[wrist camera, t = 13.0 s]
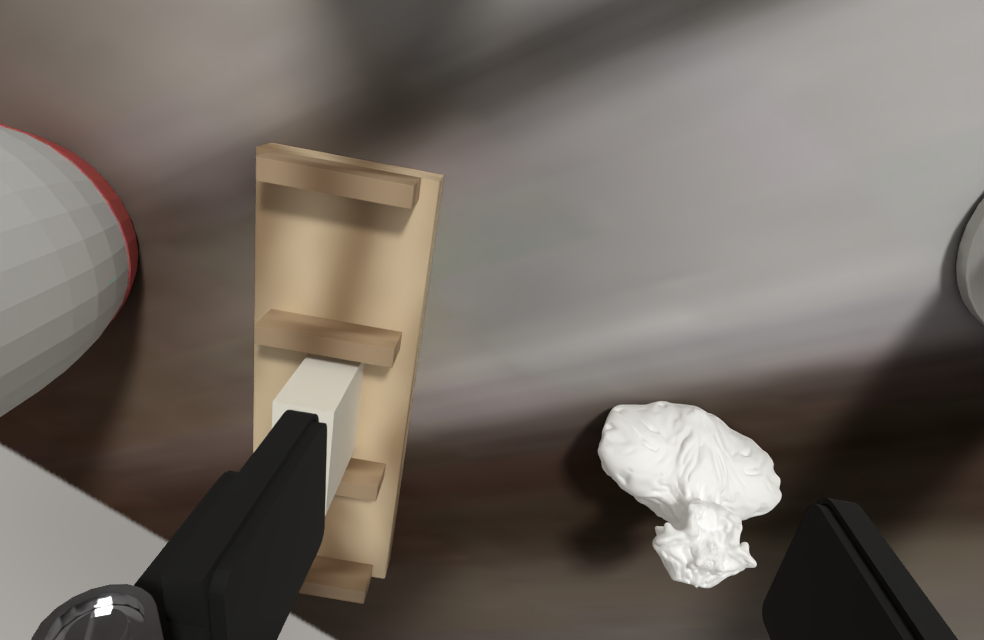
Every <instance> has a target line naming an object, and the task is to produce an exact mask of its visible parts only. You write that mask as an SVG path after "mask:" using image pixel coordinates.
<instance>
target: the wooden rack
mask: <svg viewBox="0 0 984 640" xmlns="http://www.w3.org/2000/svg"><path fill="white" fill-rule="evenodd" d="M443 179H444V175H441V174H436V173H431V172H425V171H420V170H415V169H409V168H404V167H399V166H393V165H388V164H383V163H377V162H372V161H367V160H361V159H356V158H350V157H345V156H340V155H334V154H329V153H324V152H318V151H313V150H308V149H302V148H297V147H292V146H286V145H281V144H276V143H268V144H265V145H261V146H258V147H256V241H255V326H254V441H253V453H254V452H255V450H256V449H257V448H258V446H259V445H260V444H261V442H262V441H263V440H264V438H265V437H266V436H267V435H268V433H269V432H270V431H271V429H272V405H273V400H274V399H275V398H276V396H277V395H278V394H279V392H280V391H281V390H282V388H283V387H284V386H285V384H286V383H287V382H288V380H289V379H290V378H291V376H292V375H293V374H294V372H295V371H296V370H297V368H298V367H299V366H300V364H301V363H302V362H303V360H304V359H305V358H306V356H307V355H308V354H309V353H310V354H316V355H322V356H327V357H333V358H339V359H344V360H350V361H356V362H361V363H364V371H363V381H362V390H361V400H360V409H359V419H358V429H357V438H356V447H355V449H354V452H353V454H352V456H351V459H350V461H349V463H348V465H347V468H346V470H345V472H344V475H343V477H342V479H341V481H340V484H339V486H338V488H337V491H336V493H335V495H334V497H333V500H332V502H331V504H330V507H329V509H328V511H327V514H326V516H325V529H324V536H323V540H322V543H321V546H320V548H319V551H318V553H317V555H316V557H315V559H314V561H313V563H312V566H311V568H310V570H309V572H308V574H307V576H306V578H305V580H304V583H303V585H302V587H301V589H300V591H299V593H301V594H307V595H314V596H320V597H326V598H332V599H338V600H344V601H350V602H356V603H362V604H364V601H365V597H366V594H367V591H368V587H369V584H370V580H371V577H377V578H383V579H385V576H386V572H387V569H388V565H389V561H390V556H391V549H392V542H393V535H394V528H395V521H396V514H397V507H398V500H399V492H400V485H401V478H402V471H403V464H404V457H405V450H406V443H407V435H408V428H409V421H410V414H411V407H412V400H413V393H414V386H415V379H416V371H417V364H418V357H419V350H420V343H421V336H422V329H423V322H424V314H425V307H426V300H427V293H428V286H429V279H430V272H431V265H432V258H433V250H434V243H435V236H436V229H437V222H438V215H439V208H440V201H441V193H442V186H443Z"/></svg>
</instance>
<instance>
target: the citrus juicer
mask: <svg viewBox="0 0 984 640" xmlns="http://www.w3.org/2000/svg"><path fill="white" fill-rule="evenodd" d="M137 264H138V247H137V240H136V234H135V231H134V228H133V225H132V222H131V219H130V217H129V215H128V213H127V211H126V209H125V207H124V205H123V203H122V202H121V200H120V198H119V197H118V195H117V194H116V193H115V191H114V190H113V189H112V187H111V186H110V185H109V183H108V182H107V181H106V180H105V179H104V178H103V177H102V176H101V175H100V174H99V173H98V172H97V171H96V170H95V169H94V168H93V167H92V166H91V165H90V164H88V163H87V162H85V161H84V160H83V159H81V158H80V157H79V156H77V155H76V154H74V153H73V152H71V151H69V150H67V149H65V148H63V147H61V146H60V145H58V144H56V143H54V142H51V141H49V140H47V139H44V138H42V137H39V136H36V135H33V134H30V133H27V132H24V131H21V130H18V129H15V128H12V127H9V126H6V125H2V124H0V417H1V416H3V415H4V414H6V413H7V412H9V411H10V410H12V409H13V408H15V407H16V406H18V405H19V404H21V403H22V402H24V401H25V400H27V399H28V398H30V397H31V396H33V395H34V394H36V393H37V392H39V391H40V390H41V389H43V388H44V387H45V386H46V385H48V384H49V383H50V382H52V381H53V380H54V379H56V378H57V377H58V376H60V375H61V374H62V373H63V372H65V371H66V370H67V369H68V368H69V367H70V366H71V365H72V364H73V363H74V362H76V361H77V360H78V359H79V358H80V357H81V356H82V355H83V354H84V353H85V352H86V351H87V350H88V349H89V348H90V347H91V346H92V344H93V343H94V342H95V341H96V340H97V339H98V338H99V337H100V336H101V334H102V333H103V331H104V330H105V328H106V327H107V326H108V325H109V324H110V323H111V322H112V321H113V320H114V319H115V318H116V316H117V314H118V313H119V311H120V310H121V308H122V306H123V305H124V303H125V301H126V299H127V297H128V295H129V292H130V290H131V287H132V285H133V281H134V278H135V275H136V272H137Z"/></svg>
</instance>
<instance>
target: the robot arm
mask: <svg viewBox="0 0 984 640" xmlns="http://www.w3.org/2000/svg"><path fill="white" fill-rule="evenodd" d="M956 271H957V284H958V288H959V291H960V294H961V297H962V300H963V302H964V303H965V305H966V306H967V308H968V310H969V311H970V313H971V314H972V315H973V316H974V317H975V318H976V319H977V320H978V321H980V322H981V323H982V324H983V325H984V198H983V200H982V201H981V202H980V203H979V205H978V206H977V208H976V210H975V212H974V213H973V215H972V217H971V219H970V220H969V222H968V224H967V226H966V229H965V231H964V234H963V237H962V240H961V242H960V245H959V251H958V257H957V263H956ZM326 459H327V424H326V423H322V422H319V418H318V415H317V414H314V413H308V412H301V411H295V410H286V411H285V412H284V413H283V415H282V416H281V417H280V419H279V420H278V421H277V423H276V424H275V425H274V427H273V428H272V429H271V431H270V432H269V433H268V435H267V436H266V437H265V438H264V440H263V441H262V442H261V444H260V445H259V446H258V448H257V449H256V450H255V452H254V453H253V454H252V456H251V457H250V458H249V460H248V461H247V462H246V464H245V465H244V466H243V467H242V469H241V470H240V471H239V472H234V471H228V472H226V473H224V474H223V475H222V476H221V477H220V478H219V479H218V480H217V482H216V483H215V484H214V485H213V487H212V488H211V489H210V490H209V492H208V493H207V494H206V495H205V497H204V498H203V499H202V500H201V502H200V503H199V504H198V505H197V507H196V508H195V509H194V510H193V512H192V513H191V514H190V515H189V517H188V518H187V519H186V520H185V522H184V523H183V524H182V526H181V527H180V528H179V529H178V531H177V532H176V533H175V534H174V536H173V537H172V538H171V539H170V541H169V542H168V543H167V544H166V546H165V547H164V548H163V549H162V551H161V552H160V553H159V555H158V556H157V557H156V558H155V559H154V561H153V562H152V563H151V565H150V566H149V567H148V568H147V570H146V571H145V572H144V573H143V575H142V576H141V577H140V578H139V580H138V581H137V582H136V583H135V585H134V586H132V585H128V584H120V585H119V584H117V585H106V586H102V587H98V588H94V589H90V590H88V591H86V592H84V593H81V594H79V595H77V596H75V597H72V598H71V599H69V600H68V601H66V602H65V603H63V604H62V605H60V606H59V607H57V608H56V609H55V610H54V611H53V612H52V613H51V614H50V615H49V616H48V617H47V618H46V619H44V620H43V621H42V622H41V624H40V625H39V627H38V629H37V630H36V632H35V633H34V635H33V637H32V639H31V640H277V638H278V636H279V634H280V632H281V630H282V627H283V625H284V623H285V621H286V619H287V617H288V615H289V613H290V610H291V608H292V606H293V604H294V602H295V600H296V598H297V595H298V593H299V591H300V589H301V587H302V585H303V583H304V580H305V578H306V576H307V574H308V572H309V570H310V568H311V566H312V563H313V561H314V559H315V557H316V555H317V553H318V551H319V548H320V546H321V543H322V540H323V536H324V529H325V497H326ZM762 615H763V621H764V624H765V627H766V629H767V632H768V634H769V637H770V639H771V640H958V639H957V638H956V636H955V635H954V633H953V632H952V631H951V629H950V628H949V627H948V625H947V624H946V623H945V621H944V620H943V618H942V617H941V616H940V614H939V613H938V612H937V610H936V609H935V607H934V606H933V605H932V603H931V602H930V601H929V599H928V598H927V597H926V595H925V594H924V592H923V591H922V590H921V588H920V587H919V586H918V584H917V583H916V581H915V580H914V579H913V577H912V576H911V575H910V573H909V572H908V571H907V569H906V568H905V566H904V565H903V564H902V562H901V561H900V560H899V558H898V557H897V555H896V554H895V553H894V551H893V550H892V549H891V547H890V546H889V545H888V543H887V542H886V540H885V539H884V538H883V536H882V535H881V534H880V532H879V531H878V529H877V528H876V527H875V525H874V524H873V523H872V521H871V520H870V519H869V517H868V516H867V514H866V513H865V512H864V510H863V509H862V508H861V507H860V506H859V505H858V504H856V503H854V502H849V501H842V500H836V499H830V498H821V499H820V500H819V501H818V502H817V503H816V504H811V505H809V506H808V508H807V510H806V512H805V514H804V516H803V518H802V520H801V522H800V525H799V527H798V529H797V531H796V533H795V535H794V538H793V540H792V542H791V544H790V546H789V548H788V550H787V553H786V555H785V557H784V559H783V561H782V563H781V566H780V568H779V570H778V572H777V574H776V576H775V578H774V581H773V583H772V585H771V587H770V589H769V591H768V593H767V596H766V598H765V600H764V603H763V608H762Z"/></svg>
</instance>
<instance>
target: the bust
mask: <svg viewBox="0 0 984 640" xmlns="http://www.w3.org/2000/svg"><path fill="white" fill-rule="evenodd" d="M598 455H599V457H600V459H601V464H602V468H603V470H604V471H605V472H606V474H607V475H609V476H611V477H612V479H613V480H614V481H615V482H616V483H617V484H618V485H619V487H620V488H621V489H623V490H624V491H626V492H628V493H629V494H631V495H632V496H634V498H635V499H636V500H637V501H638V502H640V503H642V504H644V505H646V506H647V507H649V508H650V509H651V510H652V511H653V512H655V514H656V515H657V516H659V517H662V518H663V519H664V520H666V521H668V522H669V523H668V522H667V523H665V524H664V527H662V526H656V527H655V531H656V534H657V536H656V537H655V538H654V540H653V547H654V549H655V550H656V552H657V553H658V554H659V556H660V557H661V559H662V562H663V564H664V566H665V567H666V569H667V571H668V573H669V575H670V576H671V578H672V579H673V580H675V581H679V582H684V583H687V584H692V585H694V586H695V587H696V588H697V587H698V586H700V587H703V588H711V587H713V586H715V585H717V584H718V583H719V582H721V581H722V580H724V579H725V578H726V577H728V576H731V575H736V574H737V573H738V572H740V571H743V570H744V569H745V568H754V567H756V565H757V563H756V561H755V560H754V559H753V558H752V557H751V555H750V553H749V545H748V543H747V542H742V543H741V544H740V534H741V531H742V521H741V520H746V519H748V518H750V517H754V516H759V515H763V514H766V513H768V512H770V511H771V510H772V509H773V508H774V507H775V506H776V505H777V504H778V503H779V502H780V500H781V496H782V494H781V491H780V490H779V487H780V478H779V477H778V476H777V475H776V474H775V472H774V470H773V466H774V463H773V461H772V459H771V458H770V456H769V455H768V454H767V453H766V452H765V451H763V450H762V449H761V448H760V447H759V446H758V445H757V444H756V443H755V442H754V441H753V440H752V439H750V438H748V437H746V436H744V435H742V434H740V433H738V432H736V431H734V430H732V429H730V428H729V427H728V426H727V425H726V424H725V423H724V422H723V421H722V420H721V419H719V418H718V417H716V416H715V415H713V414H711V413H707V412H706V411H704V410H702V409H701V408H699V407H697V406H692V405H685V404H673V403H669V402H666V401H657V402H653V403H650V404H646V405H617V406H615V407H614V408H612V410H611V411H610V413H609V415H608V417H607V419H606V422H605V425H604V427H603V430H602V438H601V441H600V443H599V447H598Z"/></svg>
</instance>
